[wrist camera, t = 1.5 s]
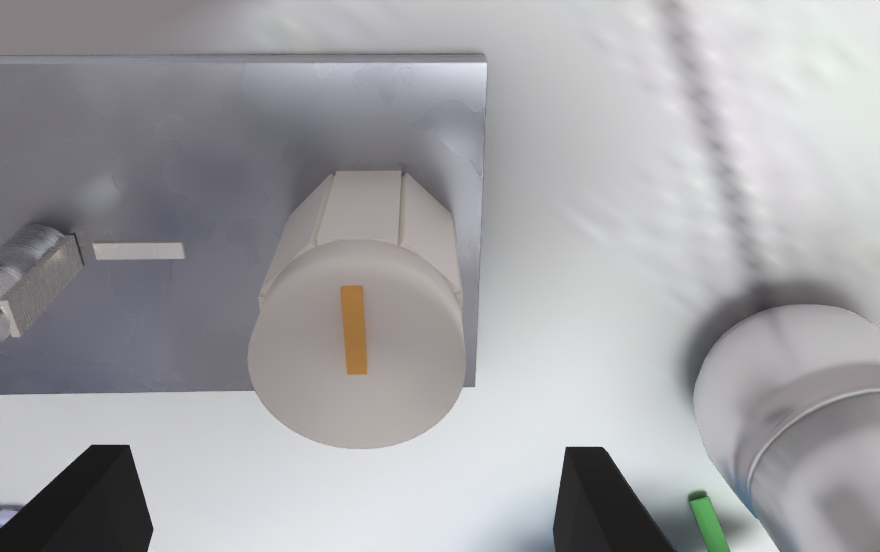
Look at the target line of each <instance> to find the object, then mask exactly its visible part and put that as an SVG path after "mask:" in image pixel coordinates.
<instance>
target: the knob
mask: <svg viewBox="0 0 880 552" xmlns="http://www.w3.org/2000/svg"><path fill="white" fill-rule="evenodd" d="M258 301H259V307H260V313H259V316H258V319H257V321H256V324H255V327H254V330H253V332H252V335H251V338H250V342H249V346H248V358H247V360H248V371H249V375H250V379H251V382H252V384H253V387H254V389H255V391H256V393H257V395H258V397H259V398H260V400H261V402H262V403H263V404H264V406H265V407H266V408H267V409H268V410H269V412H270V413H271V414H272V415H273V416H274V417H275V418H277V419H278V420H279V421H280V422H281V423H283V424H284V425H285V426H287V427H288V428H289V429H291V430H293V431H295V432H296V433H298V434H300V435H302V436H304V437H306V438H308V439H311V440H313V441H316V442H319V443H322V444H326V445H330V446H334V447H340V448H348V449H373V448H381V447H387V446H392V445H395V444H399V443H402V442H405V441H407V440H410V439H413V438H415V437H417V436H419V435H420V434H422V433H424V432H426V431H427V430H429V429H430V428H432V427H433V426H435V425H436V424H437V423H438V422H439V421H440V420H441V419H442V418H444V416H445V415H446V414H447V413H448V412H449V411H450V409H451V408H452V407H453V405H454V403H455V402H456V400H457V399H458V396H459V394H460V392H461V390H462V387H463V383H464V380H465V372H466V356H465V346H464V337H463V327H462V302H463V293H462V284H461V276H460V267H459V258H458V250H457V241H456V232H455V223H454V219H452V214H451V213H450V212H449V211H448V210H447V209H446V208H445V207H444V206H443V205H441V204H440V203H439V202H438V201H437V200H436V199H435V198H434V197H433V196H432V195H431V194H429V193H428V192H427V191H426V190H425V189H424V188H423V187H422V186H421V185H420V184H419V183H418V182H416V181H415V180H414V179H413V178H412V177H411V176H410V175H409V174H408V173H406V174H405V175H404V176H403V177H402V174H401V171H336V174H335V176H334V175H333V174H330V175H329V176H328V177H327V178H326V179H325V180H324V181H323V182H322V183H321V184H320V185H319V186H318V187H317V188H316V189H315V190H314V191H313V192H312V193H311V194H310V195H309V196H308V197H307V198H306V199H305V200H304V201H303V203H302V204H301V205H300V206H299V207H298V208H297V209H296V210H295V211H294V212H293V213H292V214H291V215H290V216H289V219H288V221H287V224H286V226H285V229H284V232H283V234H282V237H281V239H280V242H279V244H278V247H277V249H276V252H275V254H274V257H273V260H272V262H271V265H270V267H269V270H268V272H267V275H266V277H265V280H264V282H263V285H262V287H261V290H260V293H259V296H258Z"/></svg>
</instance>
